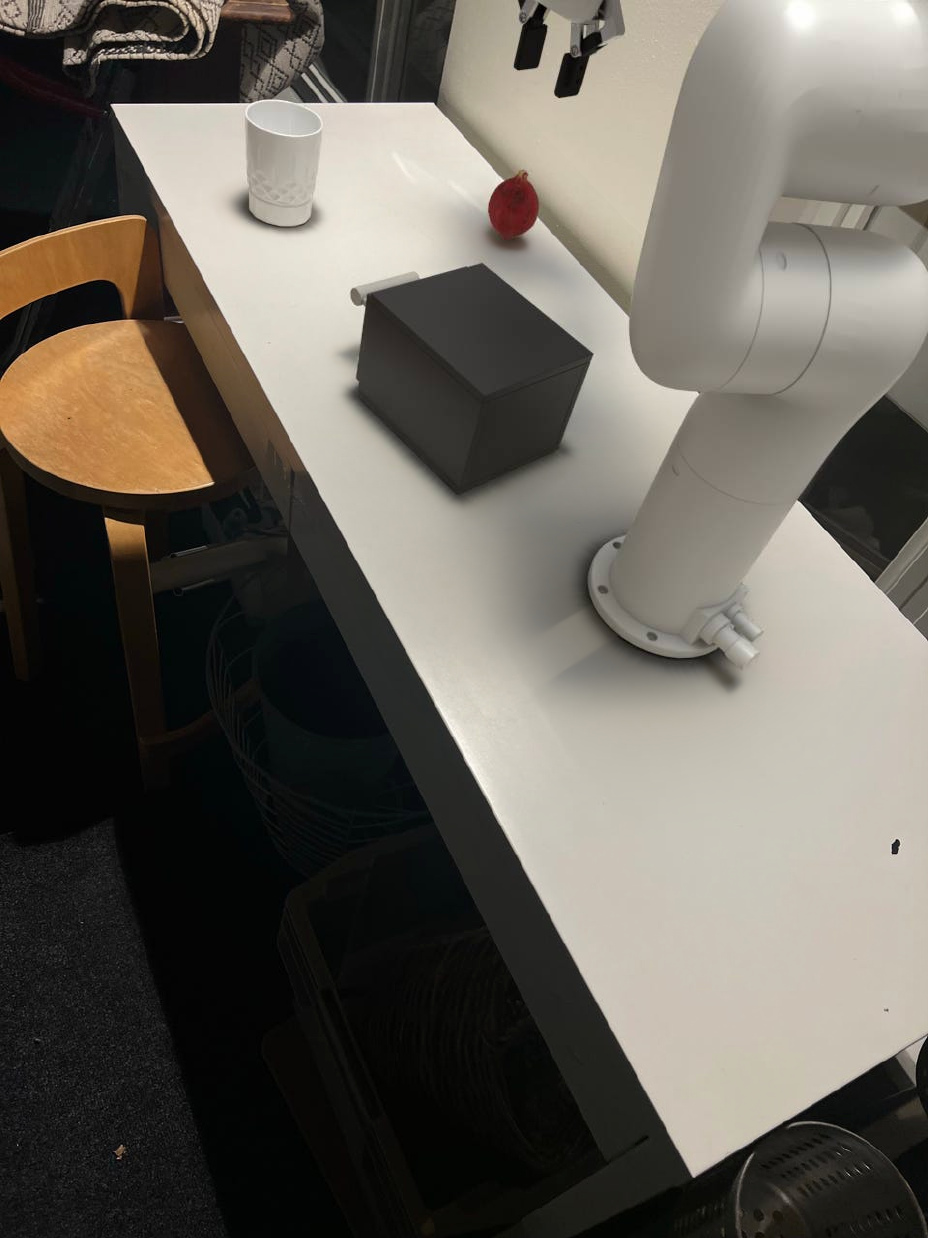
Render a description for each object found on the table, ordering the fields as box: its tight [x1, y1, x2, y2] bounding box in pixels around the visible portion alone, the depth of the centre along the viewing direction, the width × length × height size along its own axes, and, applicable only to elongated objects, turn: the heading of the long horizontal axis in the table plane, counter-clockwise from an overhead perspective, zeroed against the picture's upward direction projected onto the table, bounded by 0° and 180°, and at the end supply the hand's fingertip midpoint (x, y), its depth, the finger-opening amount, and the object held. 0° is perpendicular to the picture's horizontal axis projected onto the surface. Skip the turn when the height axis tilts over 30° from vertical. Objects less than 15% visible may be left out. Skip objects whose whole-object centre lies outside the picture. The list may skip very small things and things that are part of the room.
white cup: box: [244, 99, 324, 227], centre depth 96 cm, size 8×8×10 cm
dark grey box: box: [356, 262, 594, 495], centre depth 79 cm, size 15×13×11 cm
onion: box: [487, 169, 540, 240], centre depth 103 cm, size 6×6×8 cm
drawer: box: [349, 265, 468, 382], centre depth 81 cm, size 18×11×9 cm, turn 41°
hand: (545, 79), depth 93 cm, fingers open, 5 cm apart
